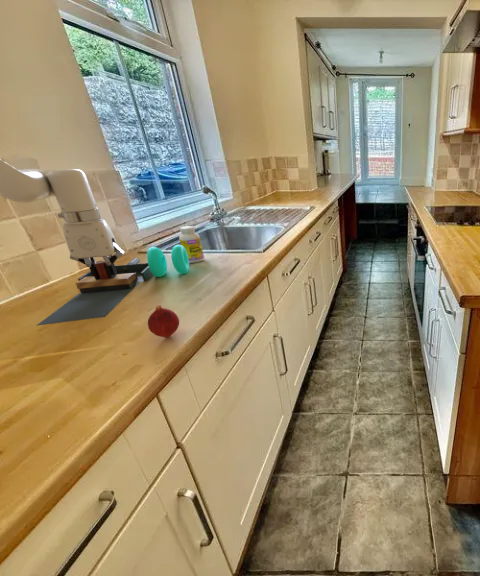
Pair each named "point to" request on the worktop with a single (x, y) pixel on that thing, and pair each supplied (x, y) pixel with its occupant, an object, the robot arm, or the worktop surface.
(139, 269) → the dustpan
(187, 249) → the supplement bottle
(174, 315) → the onion
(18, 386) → the worktop surface
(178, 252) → the donuts
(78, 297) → the mat
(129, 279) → the wooden board with knob
